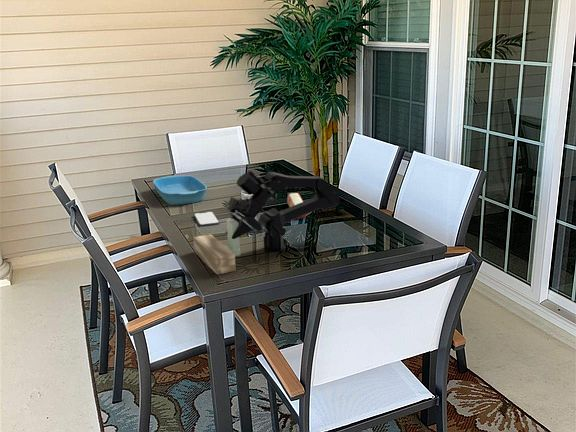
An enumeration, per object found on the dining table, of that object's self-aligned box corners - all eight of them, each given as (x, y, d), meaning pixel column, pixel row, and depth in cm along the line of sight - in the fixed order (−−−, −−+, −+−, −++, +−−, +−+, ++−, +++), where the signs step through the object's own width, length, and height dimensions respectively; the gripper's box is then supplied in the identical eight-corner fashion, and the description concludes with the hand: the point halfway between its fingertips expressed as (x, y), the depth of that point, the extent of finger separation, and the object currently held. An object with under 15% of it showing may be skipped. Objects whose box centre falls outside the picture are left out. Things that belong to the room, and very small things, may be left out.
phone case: (220, 226, 244) (212, 214, 258) (220, 222, 243) (212, 211, 258) (199, 228, 241) (193, 216, 256) (199, 225, 241) (192, 213, 255)
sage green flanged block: (234, 249, 211) (232, 218, 207) (240, 254, 206) (239, 223, 202) (213, 253, 207) (211, 221, 204) (219, 259, 202) (217, 226, 199)
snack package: (286, 205, 268) (286, 191, 266) (301, 205, 269) (300, 191, 267) (292, 219, 248) (291, 204, 246) (307, 219, 249) (307, 204, 247)
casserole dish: (213, 203, 275) (212, 188, 272) (166, 209, 266) (165, 195, 264) (192, 186, 307) (191, 172, 304) (150, 191, 298) (148, 177, 296)
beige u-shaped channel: (211, 248, 217) (210, 234, 215) (235, 270, 196) (234, 254, 194) (194, 251, 214) (193, 237, 212) (217, 274, 193) (216, 258, 192)
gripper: (231, 183, 210) (204, 216, 209) (252, 195, 194) (223, 231, 193) (252, 200, 216) (226, 233, 215) (273, 213, 200) (245, 249, 199)
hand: (229, 236), depth 205 cm, fingers closed on sage green flanged block, 5 cm apart
